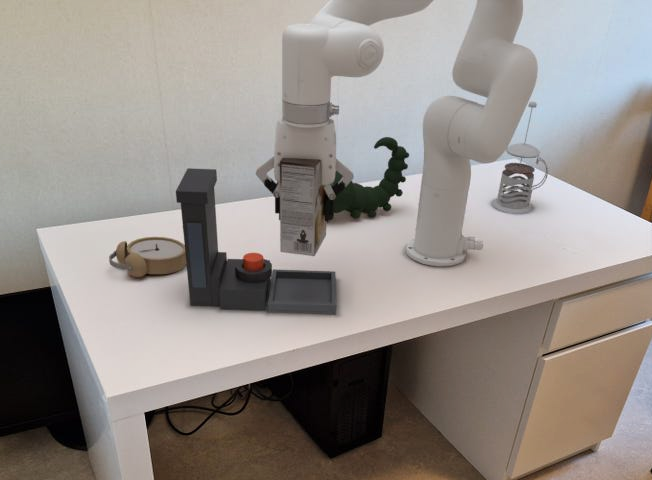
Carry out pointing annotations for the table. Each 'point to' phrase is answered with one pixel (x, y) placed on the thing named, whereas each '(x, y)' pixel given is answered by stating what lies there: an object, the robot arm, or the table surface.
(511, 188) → the french press
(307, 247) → the coffee box
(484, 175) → the table surface
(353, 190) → the toy figurine
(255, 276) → the button base
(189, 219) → the coffee machine tank
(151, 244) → the alarm clock
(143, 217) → the table surface
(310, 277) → the pan
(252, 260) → the brew button
